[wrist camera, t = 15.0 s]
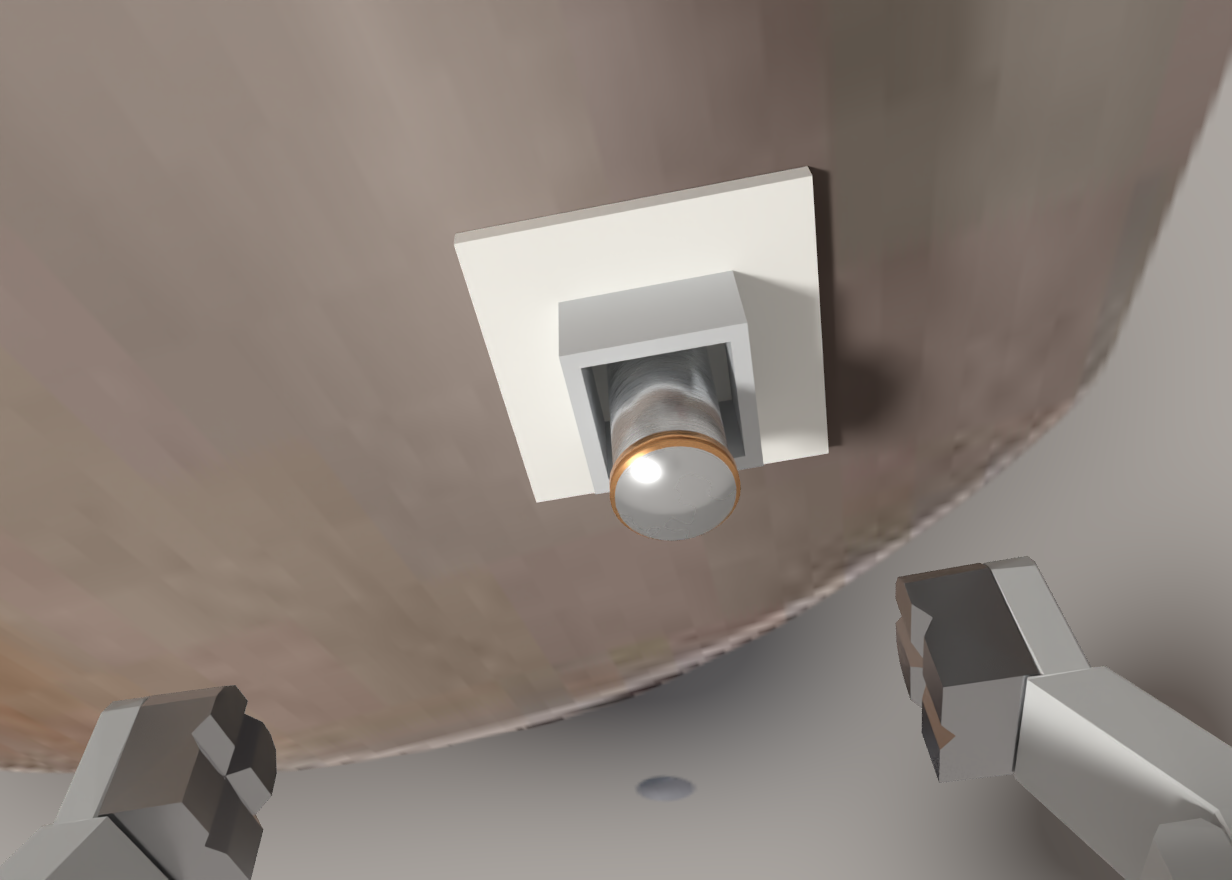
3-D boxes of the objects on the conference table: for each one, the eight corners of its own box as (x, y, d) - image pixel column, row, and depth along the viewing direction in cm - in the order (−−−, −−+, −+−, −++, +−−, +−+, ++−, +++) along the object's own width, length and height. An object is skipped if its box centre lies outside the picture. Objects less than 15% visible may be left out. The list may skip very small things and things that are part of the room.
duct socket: (536, 490, 55) (535, 562, 50) (455, 233, 44) (444, 295, 40) (824, 441, 53) (848, 510, 49) (807, 166, 43) (835, 223, 39)
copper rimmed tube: (592, 325, 47) (598, 458, 39) (704, 304, 46) (733, 434, 38) (613, 413, 50) (623, 553, 42) (718, 394, 50) (747, 532, 42)
